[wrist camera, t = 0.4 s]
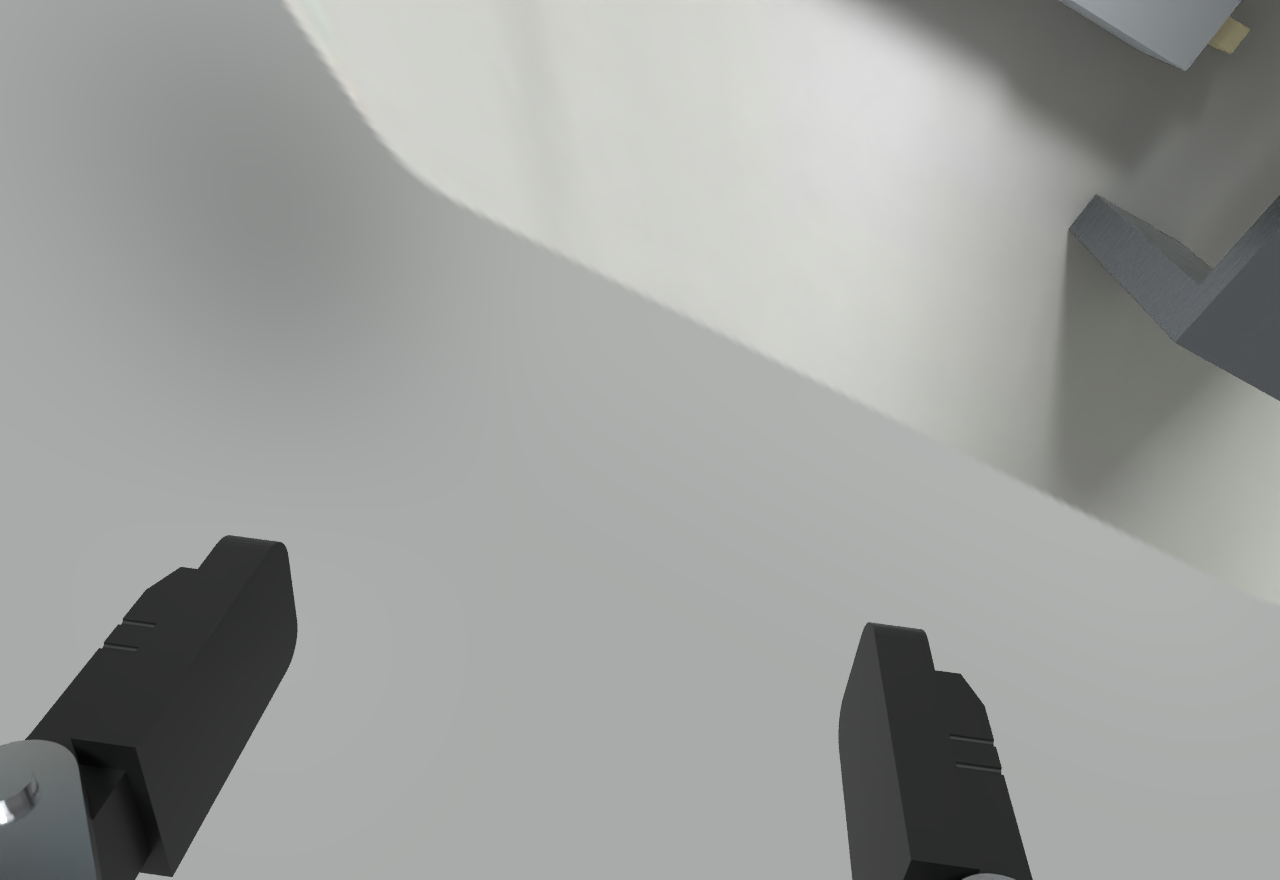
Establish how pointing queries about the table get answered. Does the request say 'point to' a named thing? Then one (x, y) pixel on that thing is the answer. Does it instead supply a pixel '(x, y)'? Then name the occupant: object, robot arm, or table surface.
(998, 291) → the table surface
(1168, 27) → the grey two-tone block
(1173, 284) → the u-shaped bracket
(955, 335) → the table surface
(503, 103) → the table surface
